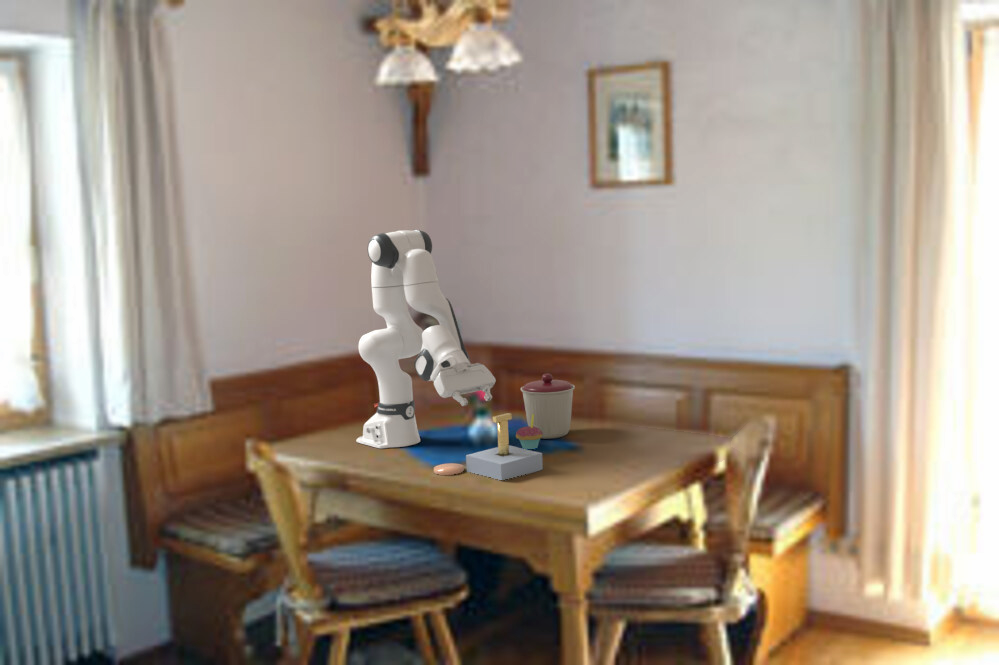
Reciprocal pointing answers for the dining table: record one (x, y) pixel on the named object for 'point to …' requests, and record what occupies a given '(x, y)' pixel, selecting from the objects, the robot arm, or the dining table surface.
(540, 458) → the grey square socket block
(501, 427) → the key
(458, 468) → the pink flat disc
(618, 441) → the dining table surface
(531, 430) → the cupcake
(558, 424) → the canister
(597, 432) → the dining table surface
